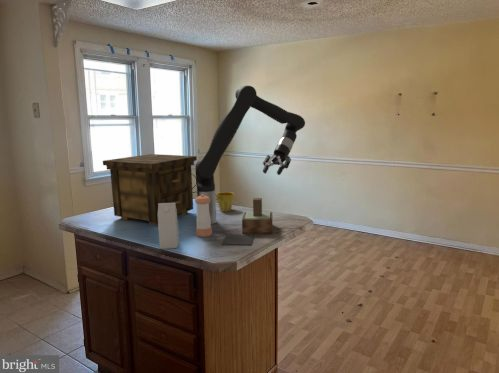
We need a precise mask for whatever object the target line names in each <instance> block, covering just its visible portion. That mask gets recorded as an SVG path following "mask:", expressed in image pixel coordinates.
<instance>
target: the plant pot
mask: <svg viewBox="0 0 499 373" xmlns="http://www.w3.org/2000/svg"><path fill="white" fill-rule="evenodd" d="M215 199H216V201H217V202H218V207H219V210H220V211H221V212H229V211H232V208H233V201H234V200H235V193H234V192H229V191H223V192H218V193H215Z"/></svg>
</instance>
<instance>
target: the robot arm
mask: <svg viewBox="0 0 499 373" xmlns="http://www.w3.org/2000/svg"><path fill="white" fill-rule="evenodd" d="M235 99H236V100H235V103H234V104H233V106H232V108H231V109H230V111H229V112H227V114H226V115H225V116H224V118H222V120H221V121H220V123H219V125H218V127H217V128H216V129H215V132H214V133H213V136H212V140H211V143H210V145H209V148H208V150H207V152H206V153H205V155H204V157H203V158H201V159H199V160H198V161H196V164H195V182H196V183H195V184H196V192H197V193H196V194H197V195H196V196H197V197H198V196H201V195H202V194H203V195H204V196H208V197H209V198H210V203H209V214H210V219H211V225H214V224H216V223H217V206H216V205H217V204H216V203H217V202H216V201H217V200H216V185H215V184H216V183H215V176H214V174H215V172H216V169H217V167H218V165H219V162H220V160H221V158H222V157H223V155H224V153H225V152H226V150H227V149H228V147H229V146H230V144H231V142H232V141H233V138H234V137H235V135H236V134H237V132H238V129H239V128H240V125H241V124H242V122H243V119H244V117H245V116H246V114H247V113H248V111H249V110H250V108H253V109H255V110H257V111H259V112H261V113H262V114H264V115H265V116H267V117H269V118H270V119H272V120H274V121H275V122H277V123H279V124H286V125H285V128H284V132H283V134H282V136H281V138H280V139H279V141H278V142H277V145H276V147H275V149H274V150H273V153H272V154H273V155H271V156H270V155H269V154H268V155H266V157H265V159H264V161H263V162H262V164H263V166H264V167H263V169H262V172H263V174H264V175H265V174H267V172H268V171H269V168H270V167H273V166H275V165H278V169H277V170H276V174H277V175H278V176H280V175H281V174H282V173H283V170H286V169H287V170H288V168H289V167H290V164H291V161H292V158H291V157H290V156H289V155H290V153H291V152H292V149H293V146H294V143H295V142H296V140H297V132H298V131H300V130H302V129H303V128H304V127H305V126H306V120H305V119H304V117H302V116H301V115H299V114H297V113H293V112H291V111H287V110H285V109H284V108H282V107H280V106H279V105H276V104H274V103H272V102H270V101H267V100H265V99H263V98H262V97H260V96H258V95H257V89H256V88H255V87H254V86H251V85H243V86H240V87H239V88H237V89H236V91H235ZM197 197H196V198H197Z"/></svg>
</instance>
